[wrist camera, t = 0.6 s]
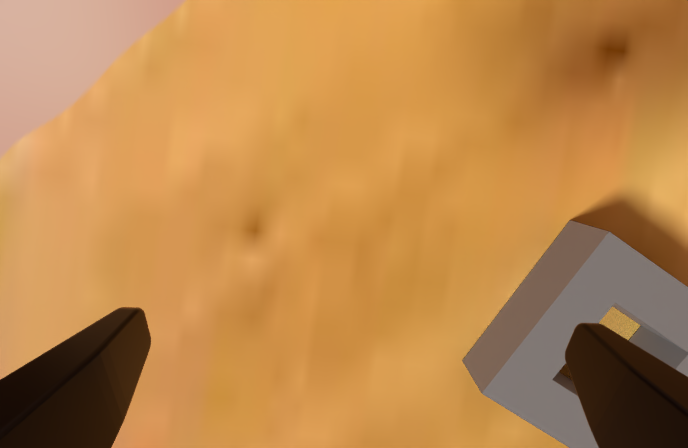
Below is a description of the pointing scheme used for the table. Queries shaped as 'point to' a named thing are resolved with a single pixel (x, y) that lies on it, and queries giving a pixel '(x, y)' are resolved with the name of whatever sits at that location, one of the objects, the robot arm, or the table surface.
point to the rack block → (564, 315)
